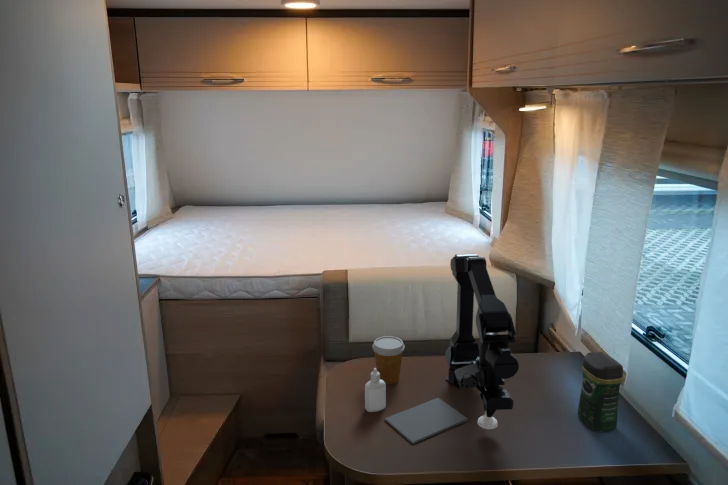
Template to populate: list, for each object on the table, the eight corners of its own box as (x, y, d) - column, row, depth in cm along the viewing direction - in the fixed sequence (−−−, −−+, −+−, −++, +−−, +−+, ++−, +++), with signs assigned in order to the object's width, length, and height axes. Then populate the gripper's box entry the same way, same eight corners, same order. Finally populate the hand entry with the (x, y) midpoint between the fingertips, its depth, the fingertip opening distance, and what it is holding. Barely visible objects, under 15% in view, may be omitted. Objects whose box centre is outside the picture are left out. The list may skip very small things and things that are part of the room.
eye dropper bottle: (385, 413, 145) (385, 373, 142) (364, 412, 146) (363, 372, 143) (386, 404, 149) (386, 365, 146) (365, 403, 150) (365, 364, 147)
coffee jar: (622, 431, 136) (630, 365, 131) (593, 435, 135) (601, 368, 130) (599, 410, 145) (606, 347, 140) (572, 413, 144) (578, 350, 139)
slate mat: (437, 399, 151) (438, 397, 151) (467, 420, 142) (467, 418, 141) (384, 420, 142) (384, 418, 142) (412, 444, 132) (412, 441, 132)
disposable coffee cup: (384, 368, 169) (383, 332, 166) (410, 376, 164) (410, 340, 160) (366, 381, 162) (365, 344, 158) (393, 390, 156) (393, 352, 153)
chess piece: (473, 423, 135) (475, 388, 132) (484, 415, 138) (485, 380, 136) (491, 431, 132) (493, 395, 129) (501, 423, 135) (503, 387, 132)
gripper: (450, 341, 139) (448, 395, 143) (466, 378, 121) (464, 438, 125) (493, 340, 139) (490, 393, 143) (516, 376, 121) (511, 437, 125)
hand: (488, 414), depth 134 cm, fingers closed on chess piece
